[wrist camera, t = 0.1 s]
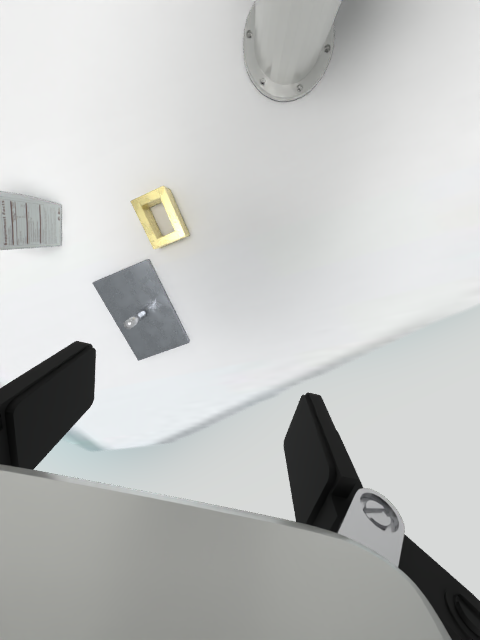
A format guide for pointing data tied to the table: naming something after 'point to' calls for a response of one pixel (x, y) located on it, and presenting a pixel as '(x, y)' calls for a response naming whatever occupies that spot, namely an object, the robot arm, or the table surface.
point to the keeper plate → (142, 310)
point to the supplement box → (28, 222)
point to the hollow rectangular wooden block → (149, 222)
